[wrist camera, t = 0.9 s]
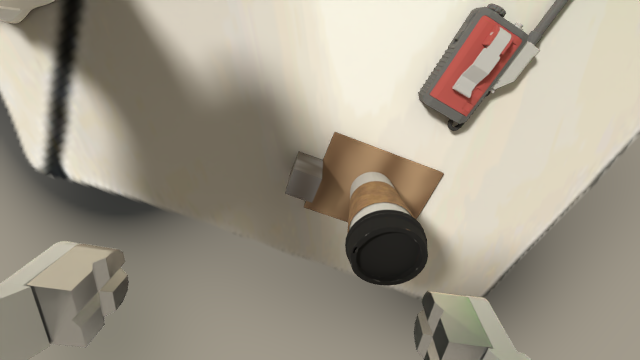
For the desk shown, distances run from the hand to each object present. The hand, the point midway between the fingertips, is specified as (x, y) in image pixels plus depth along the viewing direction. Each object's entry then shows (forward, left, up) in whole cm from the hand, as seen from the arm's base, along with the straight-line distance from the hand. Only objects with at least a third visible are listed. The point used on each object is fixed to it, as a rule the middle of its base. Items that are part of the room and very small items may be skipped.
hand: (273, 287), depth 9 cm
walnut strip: (+10, -10, -34) cm, 37 cm away
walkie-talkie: (+17, +11, -35) cm, 40 cm away
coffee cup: (+12, -11, -34) cm, 38 cm away
